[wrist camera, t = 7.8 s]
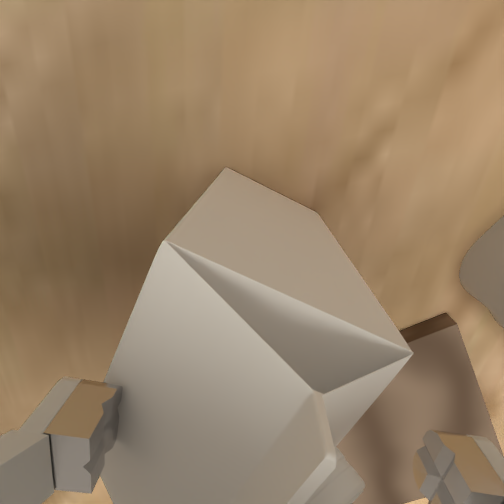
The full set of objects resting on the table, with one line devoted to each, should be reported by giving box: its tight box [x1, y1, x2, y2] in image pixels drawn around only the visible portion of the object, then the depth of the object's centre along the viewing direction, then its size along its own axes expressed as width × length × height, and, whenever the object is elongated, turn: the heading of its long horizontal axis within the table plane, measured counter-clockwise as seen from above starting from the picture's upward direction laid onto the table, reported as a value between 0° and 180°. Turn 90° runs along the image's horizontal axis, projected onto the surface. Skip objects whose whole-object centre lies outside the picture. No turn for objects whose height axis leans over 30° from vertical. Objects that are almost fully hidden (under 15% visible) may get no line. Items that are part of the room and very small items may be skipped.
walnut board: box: [336, 313, 504, 504], centre depth 29 cm, size 20×18×2 cm
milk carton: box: [100, 167, 414, 504], centre depth 14 cm, size 7×7×19 cm
